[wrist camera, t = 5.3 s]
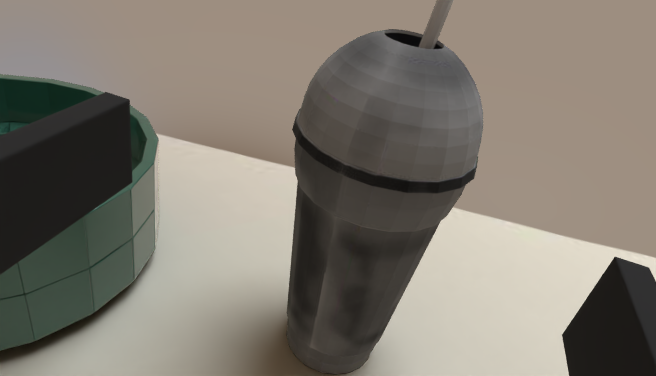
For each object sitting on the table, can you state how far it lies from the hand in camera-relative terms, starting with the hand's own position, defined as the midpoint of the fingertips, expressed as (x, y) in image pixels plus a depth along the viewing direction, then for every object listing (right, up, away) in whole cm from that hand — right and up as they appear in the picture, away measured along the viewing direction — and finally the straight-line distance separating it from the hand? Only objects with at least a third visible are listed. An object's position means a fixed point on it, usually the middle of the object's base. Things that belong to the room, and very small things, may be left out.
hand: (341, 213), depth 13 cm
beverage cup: (0, -7, +12) cm, 14 cm away
